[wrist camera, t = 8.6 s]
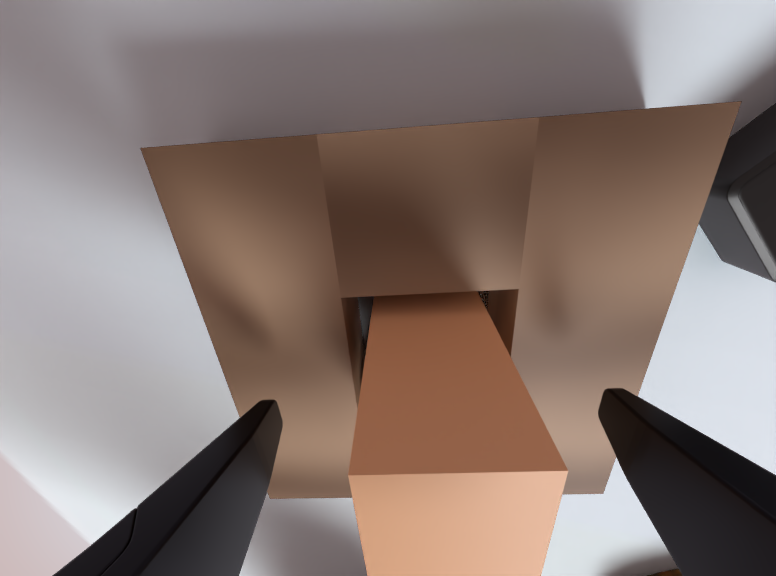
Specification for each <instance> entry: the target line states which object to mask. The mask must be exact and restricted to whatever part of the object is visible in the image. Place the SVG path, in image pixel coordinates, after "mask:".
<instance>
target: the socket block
mask: <svg viewBox="0 0 776 576" xmlns="http://www.w3.org/2000/svg"><path fill="white" fill-rule="evenodd" d="M741 102H742V101H739V102H726V103H713V104H700V105H687V106H675V107H662V108H649V109H636V110H623V111H610V112H597V113H585V114H572V115H559V116H546V117H533V118H520V119H507V120H494V121H482V122H469V123H456V124H443V125H430V126H417V127H404V128H392V129H379V130H366V131H353V132H340V133H327V134H314V135H302V136H289V137H276V138H263V139H250V140H237V141H224V142H211V143H199V144H186V145H173V146H160V147H147V148H141V151H142V154H143V157H144V159H145V162H146V165H147V167H148V170H149V173H150V176H151V178H152V181H153V184H154V186H155V189H156V192H157V194H158V197H159V200H160V203H161V205H162V208H163V211H164V213H165V216H166V219H167V222H168V224H169V227H170V230H171V232H172V235H173V238H174V241H175V243H176V246H177V249H178V251H179V254H180V257H181V259H182V262H183V265H184V268H185V270H186V273H187V276H188V278H189V281H190V284H191V287H192V289H193V292H194V295H195V297H196V300H197V303H198V305H199V308H200V311H201V314H202V316H203V319H204V322H205V324H206V327H207V330H208V333H209V335H210V338H211V341H212V343H213V346H214V349H215V351H216V354H217V357H218V360H219V362H220V365H221V368H222V370H223V373H224V376H225V379H226V381H227V384H228V387H229V389H230V392H231V395H232V398H233V400H234V403H235V406H236V408H237V411H238V414H239V416H240V417H241V416H243V415H244V414H245V413H246V412H247V411H248V410H250V409H251V408H252V407H253V406H254V405H255V404H257V403H258V402H259V401H261V400H268V399H274V400H276V401H277V403H278V406H279V410H280V413H281V417H282V420H283V427H282V432H281V437H280V441H279V445H278V450H277V454H276V459H275V463H274V467H273V472H272V476H271V480H270V484H269V487H268V490H267V492H268V495H269V498H270V499H287V498H352V493H351V488H350V483H349V478H348V473H349V466H350V459H351V452H352V445H353V438H354V431H355V424H356V417H357V410H358V403H359V396H360V389H361V383H362V376H363V369H364V362H365V352H364V343H363V335H362V327H361V319H360V311H359V303H358V297H367V296H388V295H408V294H428V293H448V292H468V291H489V294H488V308H487V311H488V313H489V315H490V317H491V319H492V321H493V323H494V325H495V327H496V329H497V331H498V333H499V335H500V337H501V339H502V341H503V343H504V345H505V347H506V349H507V351H508V353H509V355H510V357H511V359H512V361H513V363H514V365H515V367H516V369H517V371H518V372H519V374H520V376H521V378H522V380H523V382H524V384H525V386H526V388H527V390H528V392H529V394H530V396H531V398H532V400H533V402H534V404H535V406H536V408H537V410H538V412H539V414H540V416H541V418H542V420H543V422H544V424H545V426H546V428H547V430H548V432H549V434H550V436H551V438H552V440H553V442H554V444H555V445H556V447H557V449H558V451H559V453H560V455H561V457H562V459H563V461H564V463H565V465H566V467H567V469H568V474H567V478H566V482H565V486H564V489H563V493H562V494H603V493H604V490H605V487H606V484H607V481H608V479H609V476H610V473H611V470H612V467H613V464H614V462H615V459H616V455H615V453H614V451H613V448H612V446H611V444H610V442H609V440H608V438H607V435H606V433H605V431H604V429H603V427H602V424H601V422H600V420H599V417H598V409H599V405H600V402H601V398H602V395H603V392H604V390H605V389H607V388H623V389H625V390H627V391H629V392H631V393H632V394H634V395H636V396H638V394H639V391H640V388H641V385H642V382H643V379H644V377H645V374H646V371H647V368H648V365H649V362H650V360H651V357H652V354H653V351H654V348H655V345H656V343H657V340H658V337H659V334H660V331H661V328H662V326H663V323H664V320H665V317H666V314H667V311H668V309H669V306H670V303H671V300H672V297H673V294H674V292H675V289H676V286H677V283H678V280H679V277H680V275H681V272H682V269H683V266H684V263H685V260H686V258H687V255H688V252H689V249H690V246H691V243H692V241H693V238H694V235H695V232H696V229H697V226H698V224H699V221H700V218H701V215H702V212H703V209H704V207H705V204H706V201H707V198H708V195H709V192H710V190H711V187H712V184H713V181H714V178H715V175H716V173H717V170H718V167H719V164H720V161H721V158H722V156H723V153H724V150H725V147H726V144H727V141H728V139H729V136H730V133H731V130H732V127H733V124H734V122H735V119H736V116H737V113H738V110H739V107H740V105H741Z"/></svg>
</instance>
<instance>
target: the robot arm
mask: <svg viewBox="0 0 776 576" xmlns="http://www.w3.org/2000/svg"><path fill="white" fill-rule="evenodd" d="M598 417H599V420H600V422H601V424H602V427H603V429H604V431H605V433H606V435H607V438H608V440H609V442H610V444H611V446H612V448H613V451H614V453H615V455H616V457H617V459H618V461H619V464H620V466H621V468H622V470H623V472H624V474H625V476H626V478H627V480H628V482H629V483H630V485H631V487H632V489H633V491H634V492H635V494H636V496H637V497H638V499H639V501H640V503H641V504H642V506H643V508H644V510H645V511H646V513H647V515H648V516H649V518H650V520H651V522H652V523H653V525H654V527H655V529H656V530H657V532H658V534H659V535H660V537H661V539H662V541H663V542H664V544H665V546H666V548H667V549H668V551H669V553H670V554H671V556H672V558H673V560H674V561H675V563H676V565H677V567H678V568H679V570H680V572H681V573H682V575H683V576H776V475H775V474H773V473H771V472H769V471H768V470H766V469H764V468H762V467H761V466H759V465H757V464H755V463H754V462H752V461H750V460H748V459H746V458H745V457H743V456H741V455H739V454H738V453H736V452H734V451H732V450H731V449H729V448H727V447H725V446H724V445H722V444H720V443H718V442H717V441H715V440H713V439H711V438H710V437H708V436H706V435H704V434H703V433H701V432H699V431H697V430H696V429H694V428H692V427H690V426H689V425H687V424H685V423H683V422H682V421H680V420H678V419H676V418H675V417H673V416H671V415H669V414H668V413H666V412H664V411H662V410H661V409H659V408H657V407H655V406H654V405H652V404H650V403H648V402H647V401H645V400H643V399H641V398H640V397H638V396H636V395H634V394H632V393H631V392H629V391H627V390H625V389H623V388H607V389H605V390H604V392H603V395H602V398H601V402H600V405H599V409H598ZM282 427H283V420H282V417H281V413H280V410H279V406H278V403H277V401H276V400H274V399H268V400H261V401H259V402H258V403H257V404H255V405H254V406H253V407H252V408H251V409H250V410H248V411H247V412H246V413H245V414H244V415H243V416H241V417H240V418H239V419H238V420H237V421H236V422H235V423H233V424H232V425H231V426H230V427H229V428H228V429H226V430H225V431H224V432H223V433H222V434H221V435H219V436H218V437H217V438H216V439H215V440H214V441H212V442H211V443H210V444H209V445H208V446H207V447H205V448H204V449H203V450H202V451H201V452H200V453H199V454H197V455H196V456H195V457H194V458H193V459H192V460H190V461H189V462H188V463H187V464H186V465H185V466H183V467H182V468H181V469H180V470H179V471H178V472H176V473H175V474H174V475H173V476H172V477H171V478H169V479H168V480H167V481H166V482H165V483H164V484H162V485H161V486H160V487H159V488H158V489H157V490H156V491H154V492H153V493H152V494H151V495H150V496H149V497H147V498H146V499H145V500H144V501H143V502H142V503H140V504H139V505H138V507H137V508H135V509H133V510H132V511H131V512H130V513H129V514H127V515H126V516H125V517H124V518H123V519H122V520H121V521H119V522H118V523H117V524H116V525H115V526H113V527H112V528H111V529H110V530H109V531H107V532H106V533H105V534H104V535H103V536H101V537H100V538H99V539H98V540H97V541H95V542H94V543H93V544H92V545H91V546H89V547H88V548H87V549H86V550H84V551H83V552H82V553H81V554H79V555H78V556H77V557H76V558H74V559H73V560H72V561H71V562H69V563H68V564H67V565H66V566H64V567H63V568H62V569H60V570H59V571H58V572H57V573H55V574H54V575H53V576H239V574H240V571H241V568H242V565H243V562H244V559H245V556H246V553H247V550H248V547H249V544H250V541H251V538H252V535H253V532H254V529H255V526H256V523H257V520H258V517H259V514H260V511H261V508H262V505H263V502H264V499H265V496H266V493H267V490H268V487H269V484H270V480H271V476H272V472H273V467H274V463H275V459H276V454H277V450H278V445H279V441H280V437H281V432H282Z"/></svg>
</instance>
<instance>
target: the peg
mask: <svg viewBox="0 0 776 576" xmlns="http://www.w3.org/2000/svg"><path fill="white" fill-rule="evenodd" d="M567 474H568V469H567V467H566V465H565V463H564V461H563V459H562V457H561V455H560V453H559V451H558V449H557V447H556V445H555V444H554V442H553V440H552V438H551V436H550V434H549V432H548V430H547V428H546V426H545V424H544V422H543V420H542V418H541V416H540V414H539V412H538V410H537V408H536V406H535V404H534V402H533V400H532V398H531V396H530V394H529V392H528V390H527V388H526V386H525V384H524V382H523V380H522V378H521V376H520V374H519V372H518V371H517V369H516V367H515V365H514V363H513V361H512V359H511V357H510V355H509V353H508V351H507V349H506V347H505V345H504V343H503V341H502V339H501V337H500V335H499V333H498V331H497V329H496V327H495V325H494V323H493V321H492V319H491V317H490V315H489V313H488V311H487V309H486V307H485V305H484V303H483V301H482V299H481V297H480V296H479V294H478V292H477V291H468V292H448V293H428V294H408V295H388V296H374V299H373V306H372V313H371V320H370V327H369V334H368V341H367V348H366V355H365V362H364V369H363V376H362V383H361V389H360V396H359V403H358V410H357V417H356V424H355V431H354V438H353V445H352V452H351V459H350V466H349V473H348V478H349V483H350V488H351V493H352V498H353V503H354V509H355V514H356V519H357V524H358V529H359V535H360V540H361V545H362V550H363V555H364V560H365V566H366V571H367V576H541V573H542V569H543V566H544V562H545V558H546V554H547V550H548V547H549V543H550V539H551V535H552V531H553V527H554V524H555V520H556V516H557V512H558V508H559V505H560V501H561V497H562V493H563V489H564V486H565V482H566V478H567Z"/></svg>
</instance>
